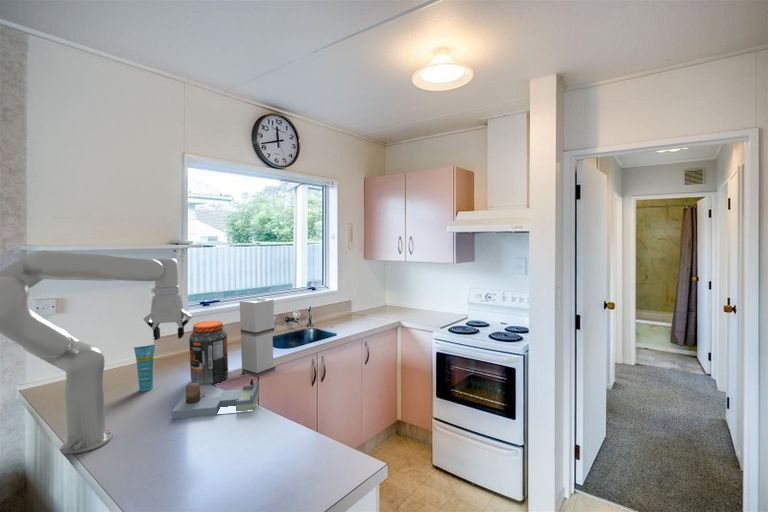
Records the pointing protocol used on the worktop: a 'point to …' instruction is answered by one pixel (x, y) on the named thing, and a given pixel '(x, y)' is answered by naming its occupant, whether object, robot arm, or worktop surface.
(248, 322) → the banded white pillar
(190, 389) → the brown wooden block
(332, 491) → the worktop surface
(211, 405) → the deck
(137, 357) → the tube
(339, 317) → the worktop surface
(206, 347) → the supplement tub
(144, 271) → the robot arm
